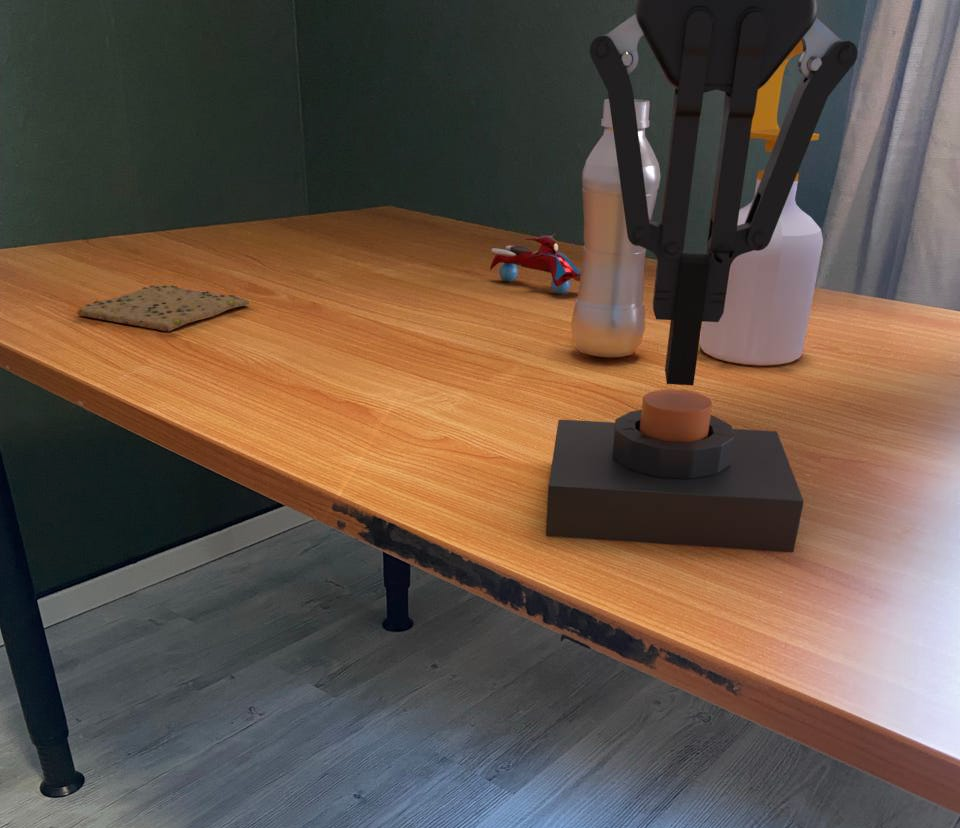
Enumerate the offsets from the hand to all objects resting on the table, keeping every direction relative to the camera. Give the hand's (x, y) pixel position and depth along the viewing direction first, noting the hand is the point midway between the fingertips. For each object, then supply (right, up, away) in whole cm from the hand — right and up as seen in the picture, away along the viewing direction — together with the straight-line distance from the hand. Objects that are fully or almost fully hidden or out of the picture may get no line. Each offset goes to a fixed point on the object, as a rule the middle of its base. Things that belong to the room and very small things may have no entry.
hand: (678, 377), depth 57 cm
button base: (0, -7, +4) cm, 8 cm away
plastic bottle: (0, +10, +32) cm, 33 cm away
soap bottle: (+13, +11, +33) cm, 37 cm away
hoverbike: (-5, +24, +54) cm, 59 cm away
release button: (0, -3, +2) cm, 3 cm away
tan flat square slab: (-43, +18, +42) cm, 63 cm away
